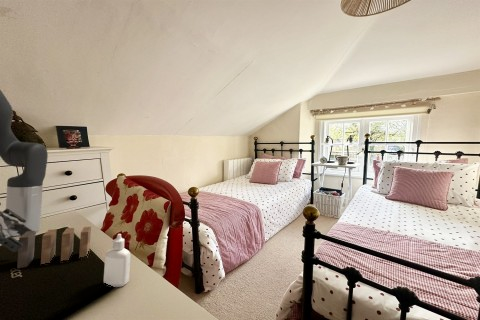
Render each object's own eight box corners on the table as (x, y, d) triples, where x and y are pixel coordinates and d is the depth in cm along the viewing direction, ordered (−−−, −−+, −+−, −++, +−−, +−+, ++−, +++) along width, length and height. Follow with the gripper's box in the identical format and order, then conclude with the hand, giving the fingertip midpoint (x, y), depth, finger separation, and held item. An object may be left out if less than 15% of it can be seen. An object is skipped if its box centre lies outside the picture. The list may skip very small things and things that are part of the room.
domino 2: (60, 262, 59) (62, 234, 59) (65, 254, 64) (66, 228, 63) (68, 261, 60) (70, 233, 60) (72, 253, 64) (74, 227, 64)
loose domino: (17, 268, 55) (19, 237, 55) (25, 259, 59) (26, 231, 59) (26, 266, 56) (28, 237, 56) (33, 258, 60) (35, 230, 60)
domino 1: (40, 265, 57) (42, 235, 57) (46, 256, 62) (48, 229, 62) (49, 263, 58) (51, 235, 58) (54, 255, 62) (56, 229, 62)
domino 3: (79, 259, 61) (80, 232, 61) (82, 252, 66) (83, 227, 65) (86, 258, 62) (88, 231, 62) (89, 251, 66) (90, 226, 66)
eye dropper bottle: (111, 291, 48) (114, 240, 48) (101, 282, 52) (104, 233, 51) (130, 283, 52) (133, 235, 52) (120, 274, 55) (123, 229, 55)
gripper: (-37, 197, 47) (29, 241, 52) (-3, 187, 59) (48, 224, 65) (-76, 222, 44) (-2, 266, 50) (-32, 207, 57) (23, 243, 62)
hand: (26, 242), depth 57 cm, fingers open, 8 cm apart
